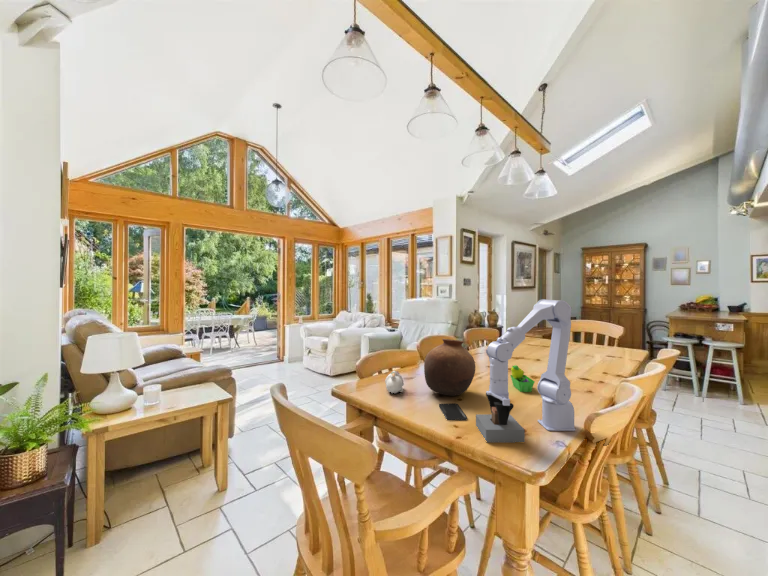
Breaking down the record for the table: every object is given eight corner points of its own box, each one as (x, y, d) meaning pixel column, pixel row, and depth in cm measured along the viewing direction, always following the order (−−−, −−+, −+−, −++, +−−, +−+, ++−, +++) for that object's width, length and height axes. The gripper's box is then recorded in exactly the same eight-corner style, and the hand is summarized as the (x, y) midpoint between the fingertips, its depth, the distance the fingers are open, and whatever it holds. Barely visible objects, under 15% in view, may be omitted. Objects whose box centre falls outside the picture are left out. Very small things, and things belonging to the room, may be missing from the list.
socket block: (510, 425, 114) (510, 414, 114) (524, 442, 102) (524, 429, 102) (475, 425, 114) (475, 414, 114) (486, 442, 102) (486, 429, 102)
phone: (457, 403, 134) (467, 418, 119) (457, 406, 134) (467, 421, 119) (438, 403, 133) (446, 418, 118) (438, 406, 133) (446, 421, 118)
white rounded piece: (396, 375, 144) (395, 363, 159) (381, 384, 144) (380, 371, 159) (407, 392, 145) (405, 379, 160) (392, 402, 145) (391, 387, 160)
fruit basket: (535, 392, 148) (535, 368, 148) (516, 392, 149) (516, 368, 149) (525, 385, 160) (525, 362, 160) (507, 385, 160) (507, 362, 160)
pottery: (421, 400, 139) (421, 342, 139) (427, 384, 162) (427, 334, 162) (476, 404, 134) (476, 344, 134) (474, 387, 156) (474, 335, 156)
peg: (501, 430, 109) (501, 406, 109) (504, 435, 106) (504, 410, 106) (491, 430, 109) (491, 406, 109) (494, 435, 106) (494, 410, 106)
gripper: (480, 372, 115) (480, 410, 115) (493, 385, 100) (493, 429, 101) (500, 372, 115) (500, 411, 115) (516, 385, 100) (516, 429, 100)
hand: (498, 419), depth 108 cm, fingers open, 7 cm apart
